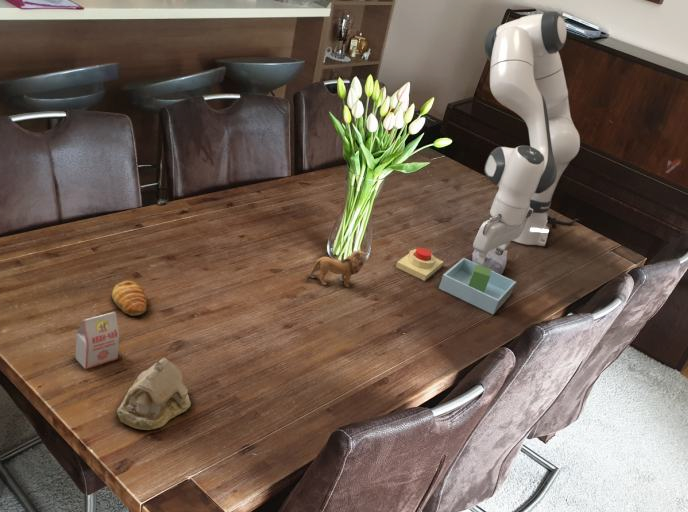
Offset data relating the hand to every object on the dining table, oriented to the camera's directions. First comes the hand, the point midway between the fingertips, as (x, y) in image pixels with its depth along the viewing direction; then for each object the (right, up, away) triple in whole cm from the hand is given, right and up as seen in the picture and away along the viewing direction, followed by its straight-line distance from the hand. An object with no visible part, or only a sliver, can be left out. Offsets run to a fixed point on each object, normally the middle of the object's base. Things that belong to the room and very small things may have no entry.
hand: (489, 258), depth 199 cm
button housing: (-18, -1, +10) cm, 20 cm away
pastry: (-84, -14, -35) cm, 93 cm away
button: (-17, +1, +9) cm, 19 cm away
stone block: (+3, +1, +23) cm, 23 cm away
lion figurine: (-41, -7, -7) cm, 42 cm away
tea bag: (-86, -26, -53) cm, 104 cm away
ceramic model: (-73, -34, -60) cm, 101 cm away
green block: (-3, -8, +6) cm, 10 cm away
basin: (-3, -8, +6) cm, 11 cm away
